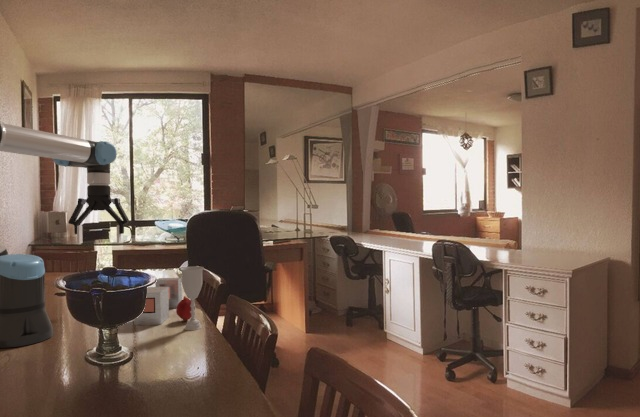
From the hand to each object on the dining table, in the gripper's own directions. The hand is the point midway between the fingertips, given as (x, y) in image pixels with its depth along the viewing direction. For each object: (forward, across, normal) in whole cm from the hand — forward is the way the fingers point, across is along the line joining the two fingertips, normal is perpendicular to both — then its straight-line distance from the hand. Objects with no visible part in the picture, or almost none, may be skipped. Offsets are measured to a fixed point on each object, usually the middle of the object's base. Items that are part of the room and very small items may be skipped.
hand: (99, 243), depth 159 cm
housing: (+23, -24, +23) cm, 41 cm away
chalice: (+24, -38, +33) cm, 56 cm away
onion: (+24, -35, +25) cm, 49 cm away
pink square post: (+19, -24, +19) cm, 36 cm away
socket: (+23, -25, +4) cm, 34 cm away
